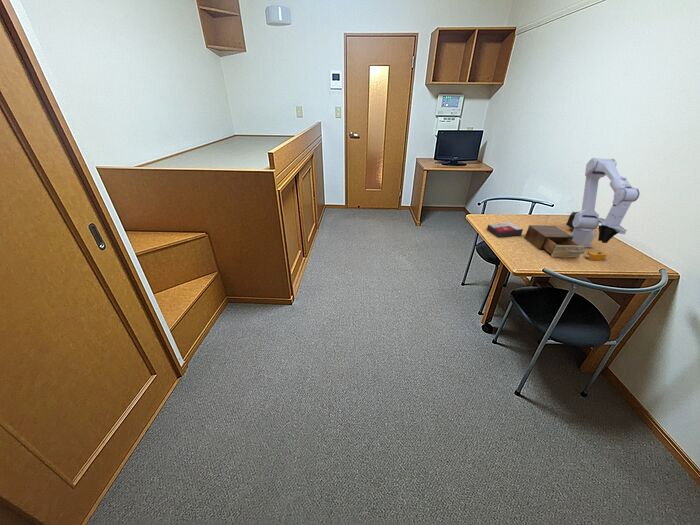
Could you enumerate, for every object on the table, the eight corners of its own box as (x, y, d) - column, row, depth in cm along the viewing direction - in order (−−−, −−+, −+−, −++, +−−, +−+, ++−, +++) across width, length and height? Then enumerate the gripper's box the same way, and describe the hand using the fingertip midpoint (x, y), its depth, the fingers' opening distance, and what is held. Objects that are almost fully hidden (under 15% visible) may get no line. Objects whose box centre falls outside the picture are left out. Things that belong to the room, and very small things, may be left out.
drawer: (586, 262, 139) (591, 251, 136) (559, 261, 138) (564, 251, 135) (561, 244, 155) (565, 234, 152) (536, 244, 154) (540, 234, 151)
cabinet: (567, 250, 151) (573, 237, 147) (540, 250, 150) (545, 236, 147) (549, 238, 164) (555, 225, 160) (524, 237, 163) (529, 225, 159)
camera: (575, 227, 182) (560, 227, 176) (584, 209, 177) (569, 209, 171) (593, 233, 173) (578, 234, 167) (603, 215, 168) (587, 215, 162)
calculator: (487, 223, 169) (510, 220, 172) (486, 230, 172) (508, 227, 174) (500, 231, 160) (523, 228, 163) (498, 238, 162) (521, 235, 165)
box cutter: (599, 257, 145) (602, 251, 143) (603, 260, 143) (607, 254, 141) (582, 257, 145) (585, 251, 143) (586, 260, 143) (589, 253, 141)
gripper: (595, 208, 138) (583, 235, 145) (621, 220, 126) (606, 248, 133) (609, 209, 139) (596, 235, 145) (636, 220, 126) (621, 248, 133)
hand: (602, 241), depth 139 cm, fingers closed
